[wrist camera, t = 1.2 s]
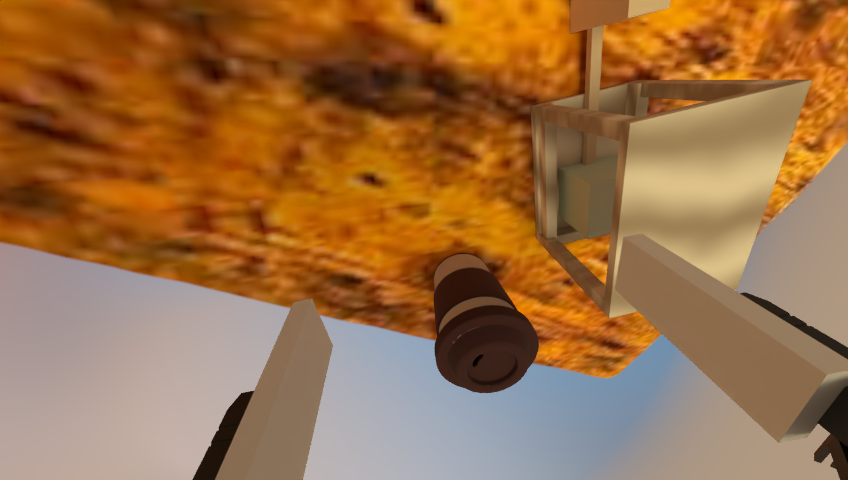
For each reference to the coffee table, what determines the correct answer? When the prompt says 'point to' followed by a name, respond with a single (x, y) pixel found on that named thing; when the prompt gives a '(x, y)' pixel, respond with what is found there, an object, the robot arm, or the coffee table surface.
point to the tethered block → (595, 178)
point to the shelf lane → (606, 126)
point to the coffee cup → (479, 328)
